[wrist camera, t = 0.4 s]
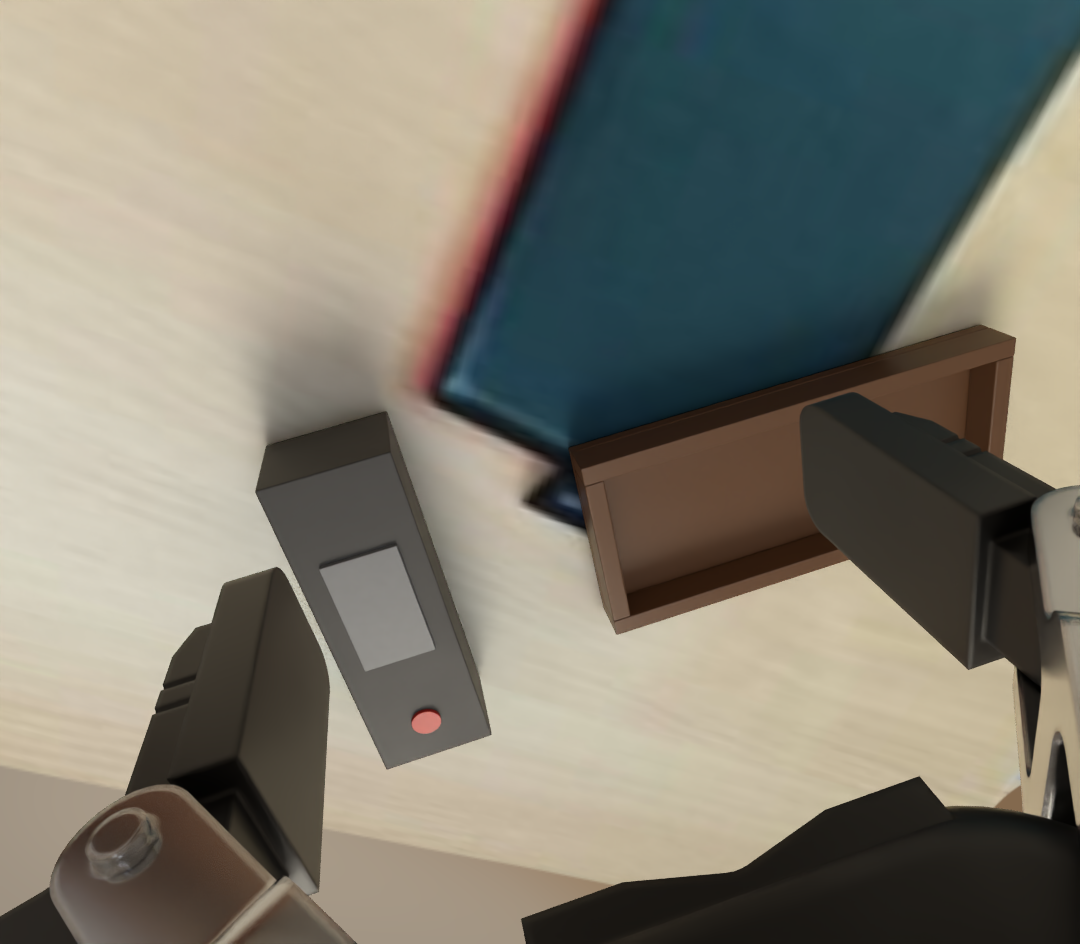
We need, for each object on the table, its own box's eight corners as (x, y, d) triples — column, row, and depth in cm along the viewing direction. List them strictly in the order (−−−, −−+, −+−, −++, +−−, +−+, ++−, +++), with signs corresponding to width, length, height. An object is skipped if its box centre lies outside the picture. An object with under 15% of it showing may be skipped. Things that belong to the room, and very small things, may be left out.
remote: (265, 445, 28) (254, 493, 24) (386, 410, 28) (390, 453, 25) (383, 708, 35) (386, 773, 31) (479, 677, 35) (492, 738, 32)
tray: (568, 447, 31) (580, 469, 29) (981, 323, 32) (1016, 337, 30) (603, 608, 35) (616, 635, 33) (967, 491, 36) (997, 511, 35)
